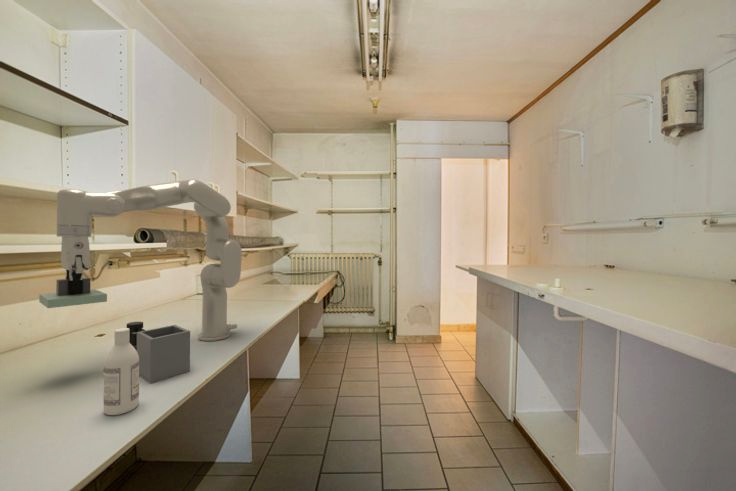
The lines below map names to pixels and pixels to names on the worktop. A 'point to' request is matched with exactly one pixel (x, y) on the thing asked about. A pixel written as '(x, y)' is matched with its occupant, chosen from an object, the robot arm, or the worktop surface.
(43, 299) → the lid
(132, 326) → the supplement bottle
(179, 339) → the grey open storage bin
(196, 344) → the worktop surface
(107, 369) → the bath foam
